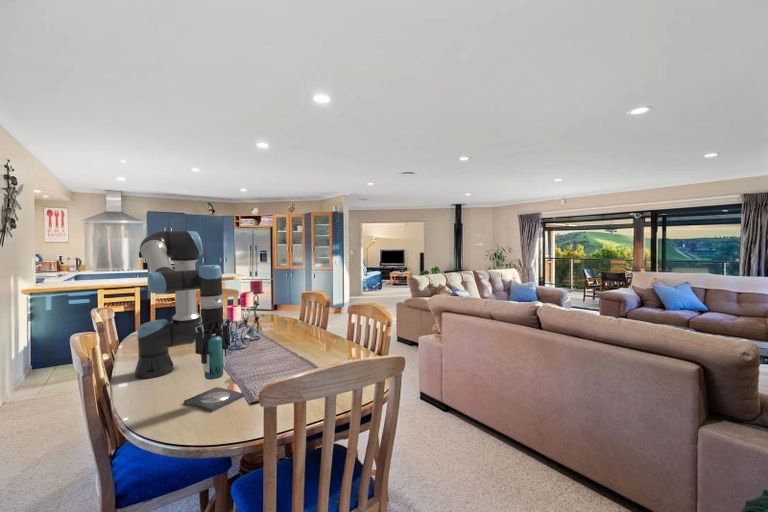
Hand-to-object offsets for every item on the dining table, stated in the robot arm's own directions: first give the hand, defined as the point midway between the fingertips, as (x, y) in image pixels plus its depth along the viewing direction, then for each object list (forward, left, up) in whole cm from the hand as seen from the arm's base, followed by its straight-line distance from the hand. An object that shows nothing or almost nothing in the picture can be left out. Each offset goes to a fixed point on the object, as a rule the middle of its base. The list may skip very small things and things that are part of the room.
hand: (214, 368), depth 137 cm
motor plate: (0, 0, -12) cm, 12 cm away
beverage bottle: (0, 0, -5) cm, 5 cm away
